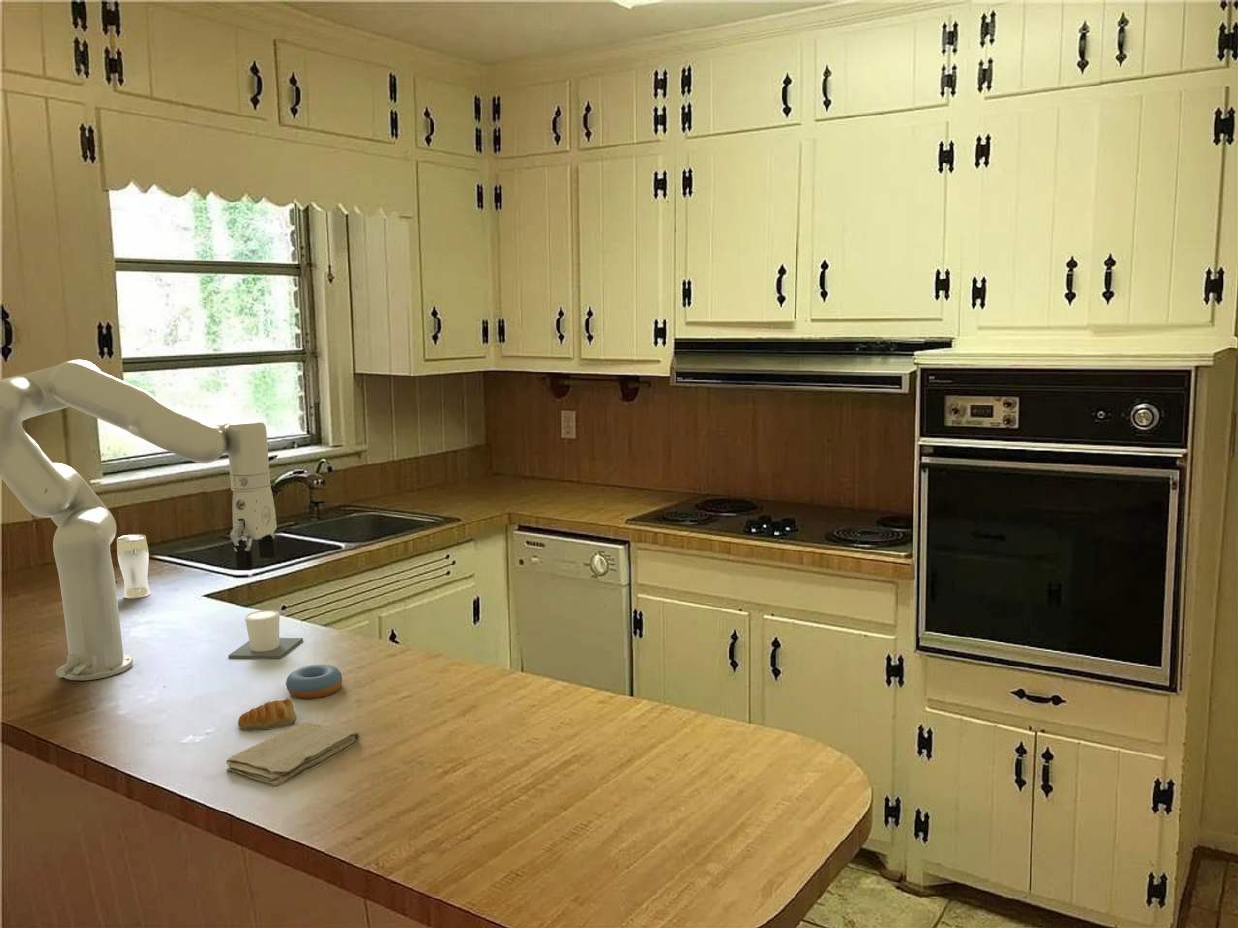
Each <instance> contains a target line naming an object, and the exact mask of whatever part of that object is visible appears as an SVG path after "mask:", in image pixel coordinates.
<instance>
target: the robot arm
mask: <svg viewBox="0 0 1238 928" xmlns="http://www.w3.org/2000/svg"><path fill="white" fill-rule="evenodd" d="M65 408H73V409H75V410H77V411H79V412H82V413H84V414H87V415H89V416H91V417H94V418H96V419H99V420H101V421H103V422H105V423H109V424H110V425H112V426H115V427H116V428H120V429H122V430H124V431H126V432H128V433H130V434H131V435H134V436H135V437H137V438H140V439H142V440H144V441H146V442H148V443H150V444H152V445H154V446H156V447H158V448H160V449H163V450H165V451H168V452H169V453H171V454H174V455H177V456H179V457H182V458H184V459H186V460H189V461H192V462H194V463H199V464H211V463H214V462H216V461H217V460H219V459H220V458H221V457H222V456H225V455H228V463H229V465H228V466H229V477H230V487H231V488H230V489H231V490H230V491H232V509H231V510H232V529H231V531H230V536H229V537H230V539H231V540H232V542H231V543H232V545H233V550H234V551H235V558H236V559H235V560H236V569H237V570H238V571H252V570H254V558H253V550H252V549H251V546H252V542H253V539H254V540H258V550H259V551H258V553H259V558H260V559H275V557H276V546H275V545H276V544H275V537H276V534H275V531H276V530H277V527H278V526H277V516H276V515H277V514H276V506H275V501H274V496H273V491H272V488H271V476H270V475H271V473H270V464H269V463H270V462H269V461H270V460H269V448H268V446H269V445H268V433H267V427H266V424H265V423H264V422H263V421H260V420H256V419H255V420H252V419H251V420H250V419H249V420H239V421H231V422H230V421H225V422H224V421H217V420H203V421H197V420H196V419H195V420H194V419H192V418H190V417H188V416H185V415H183V414H181V413H179V412H177V411H176V410H175V411H174V409H171V408H169V407H168V406H166V405H164V404H163V403H161V402H160V401H159V400H158V399H157V398H156V397H155V396H154V395H152V394H151V393H150V392H148V391H146V390H145V389H143V388H141V387H138V386H135V385H133V384H130V383H128V382H126V381H124V380H121V379H120V378H116V377H114V376H113V375H110V374H108V373H106V372H103V371H101V369H100V368H99V367H98V366H96V364H93V362H91V361H88V360H84V359H72V360H67V361H65V362H62V363H60V364H57V365H54V366H50V367H46V368H42V369H39V370H35V371H31V372H28V373H23V374H18V375H14V376H10V377H6V378H2V379H1V378H0V478H1V480H2V481H3V482H4V483H5V484H6V486H7V487H8V489H9V490H10V491H11V492H12V493H13V495H14V496H15V497H16V498H17V499H18V501H19V502H20V503H21V505H22V506H23V507H24V508H25V509H26V510H27V512H29V513H31V515H33V516H35V517H38V518H39V517H40V518H44V519H45V518H50V519H51V521H52V522H53V523H54V524H55V525H56V526H57V528H56V530H55V532H54V536H53V539H52V540H53V541H52V549H53V551H52V552H53V555H54V559H55V560H54V561H55V564H56V568H57V573H58V580H59V586H60V593H61V594H60V595H61V600H62V610H63V618H64V626H65V634H66V635H65V636H66V642H67V643H66V645H67V650H68V655H66V662H65V664H63V665H62V666H59V667H58V668H56V669H55V675H56V676H57V677H58V678H64V679H66V680H70V681H91V680H99V679H103V678H108V677H112V676H116V675H118V674H120V673H123V672H126V671H127V670H128V669H130V668H131V667H132V666H133V663H134V661H133V656H131V655H128V654H125V653H124V651H123V650H124V649H123V641H122V631H121V621H120V615H119V614H120V611H119V602H118V594H117V593H118V592H117V587H116V579H115V578H116V576H115V571H114V565H113V559H112V554H111V544H112V543H113V542H114V539H115V538H116V535H117V523H116V520H115V519H116V518H114V516H113V514H112V512H111V511H110V510H109V509H108V507H107V506H106V505H105V504H104V502H103V501H102V500H101V498H100V497H99V496H98V495H97V494H96V492H95V491H94V490H93V489H92V488H91V487H90V485H89V484H88V483H87V481H86V480H85V479H84V478H83V477H82V476H81V474H80V473H78V472H77V470H75V469H74V468H72V467H71V466H69V465H67V464H64V463H60V462H52V461H51V459H50V458H49V457H48V456H47V455H46V453H44V451H43V450H42V449H41V447H40V445H38V443H37V442H36V441H35V440H34V439H33V438H32V437H31V436H30V435H29V434H28V433H27V432H26V430H25V429H24V427H23V421H26V420H28V419H32V418H34V417H38V416H42V415H43V414H44V415H45V414H47V413H52V412H56V411H59V410H63V409H65ZM244 541H246V542H244Z"/></svg>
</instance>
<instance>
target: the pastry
mask: <svg viewBox="0 0 1238 928" xmlns="http://www.w3.org/2000/svg"><path fill="white" fill-rule="evenodd" d="M296 721H297V714H296V710H295V708H294V703H293V700H292V698H289V697H286V698H285V699H283V700H273V701H267V702H264V704H261V705H259V706H258V707H255V708H251V709H250V710H249V711H246V712H244V713H242V714H241V715H240V716H239V717H238V720H237V725H238V727H239V728H240V729H242V730H245V731H250V732H251V731H267V730H273V729H278V728H284V727H289V726H293V725H295V724H296Z"/></svg>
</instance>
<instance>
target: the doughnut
mask: <svg viewBox="0 0 1238 928" xmlns="http://www.w3.org/2000/svg"><path fill="white" fill-rule="evenodd" d="M342 684H343V677H342V672H341V671H340V669H338V668H337V667H336V666H333V665H329V664H312V665H311V664H310V665H306V666H302V667H300V668H297V669H296V670H293V671H292V672H291V673H289V674H288V676H287V678H286V681H285V686H286V690H287V691H288V693H289V694H290V695H291V696H293V697H295V698H298V699H303V700H305V699H307V700H310V699H317V698H318V699H319V698H323V697H327V696H330V695H332V694H335V693H336V692H337V691H338V690H339V689H340V688H341V686H342Z"/></svg>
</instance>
